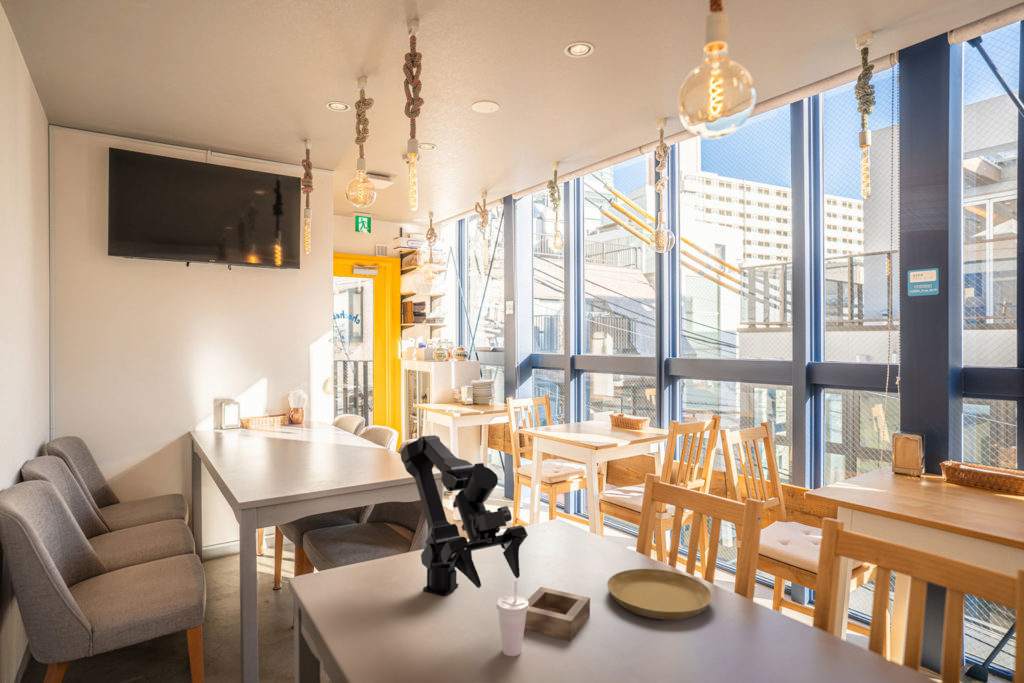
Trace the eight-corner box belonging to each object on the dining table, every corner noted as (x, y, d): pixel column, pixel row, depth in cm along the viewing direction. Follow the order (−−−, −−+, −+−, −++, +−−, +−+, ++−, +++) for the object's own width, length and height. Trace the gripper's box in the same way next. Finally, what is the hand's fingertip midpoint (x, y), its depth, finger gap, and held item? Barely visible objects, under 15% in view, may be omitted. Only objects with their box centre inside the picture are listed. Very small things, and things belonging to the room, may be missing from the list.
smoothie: (525, 662, 108) (526, 588, 108) (492, 657, 109) (493, 585, 109) (530, 644, 114) (531, 575, 114) (499, 640, 115) (500, 572, 115)
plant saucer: (615, 574, 150) (615, 561, 150) (712, 588, 142) (712, 575, 142) (598, 615, 127) (598, 600, 127) (711, 635, 119) (712, 619, 119)
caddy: (518, 627, 121) (518, 608, 121) (540, 604, 132) (540, 586, 132) (571, 640, 116) (571, 621, 116) (589, 615, 126) (590, 597, 126)
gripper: (447, 500, 115) (472, 573, 106) (523, 488, 125) (552, 554, 116) (430, 528, 122) (453, 599, 113) (504, 515, 132) (530, 579, 123)
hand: (499, 582), depth 116 cm, fingers open, 9 cm apart
